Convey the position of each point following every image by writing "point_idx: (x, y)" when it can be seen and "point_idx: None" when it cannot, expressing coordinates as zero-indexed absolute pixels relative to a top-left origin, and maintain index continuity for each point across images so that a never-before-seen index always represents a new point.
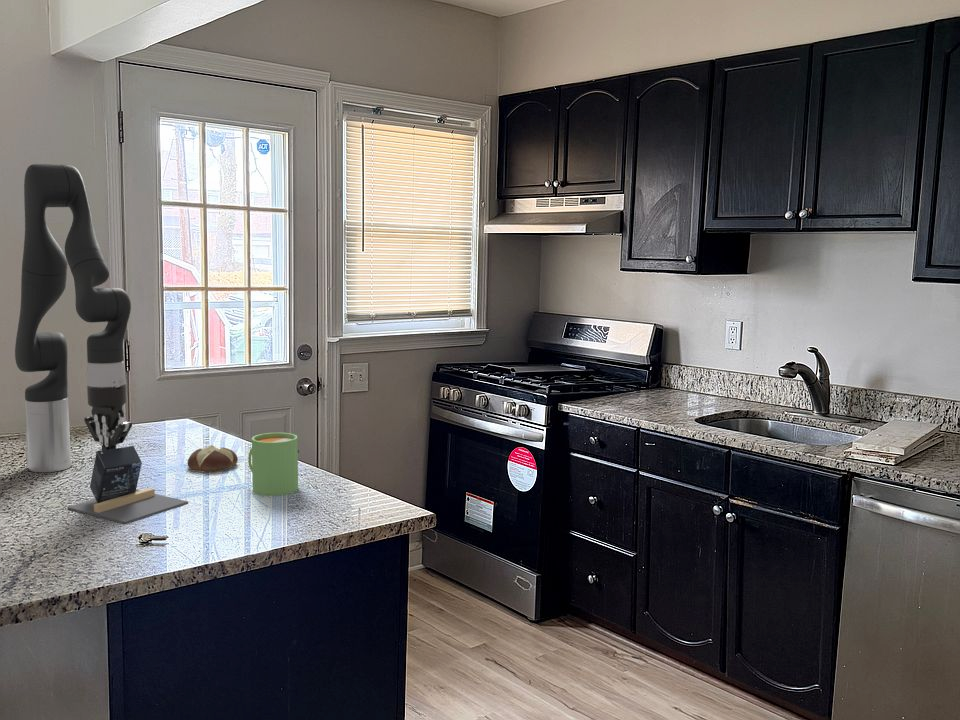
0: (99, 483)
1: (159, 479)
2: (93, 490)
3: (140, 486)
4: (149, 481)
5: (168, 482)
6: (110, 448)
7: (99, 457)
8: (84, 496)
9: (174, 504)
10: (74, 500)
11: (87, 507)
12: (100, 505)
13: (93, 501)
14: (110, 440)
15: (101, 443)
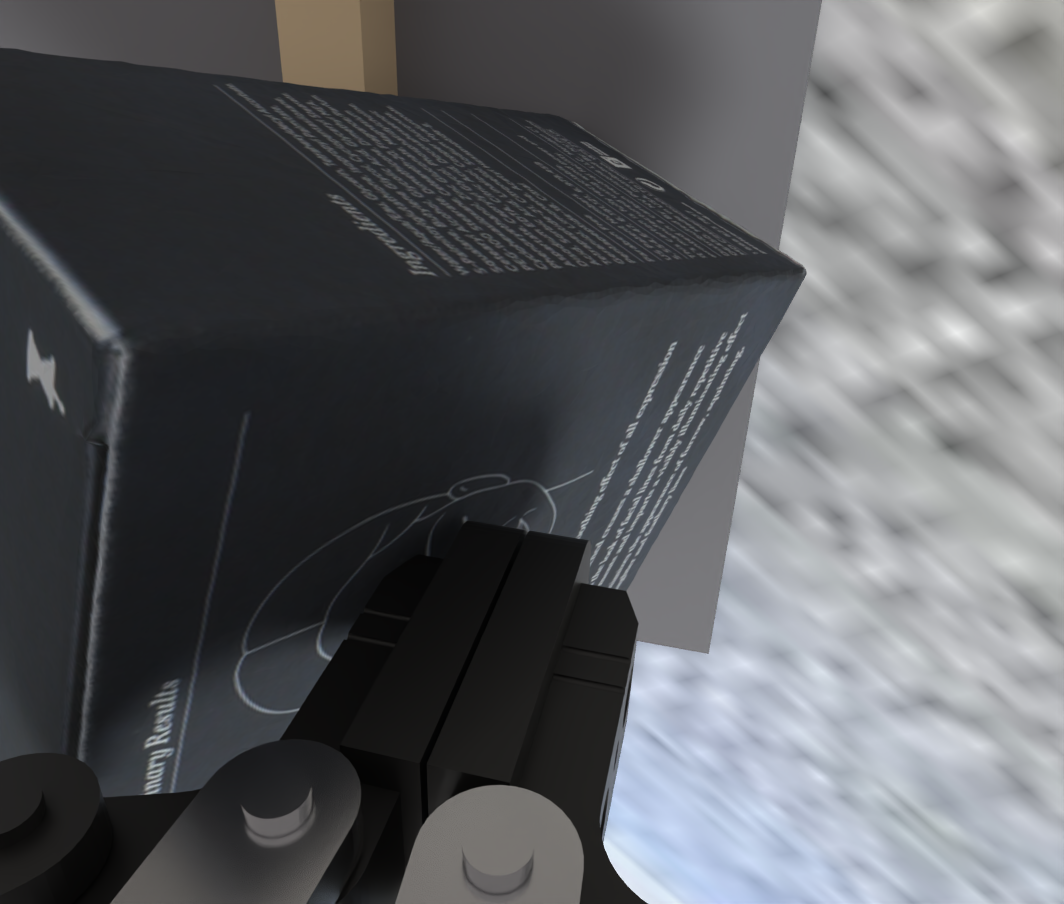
0: (363, 112)
1: (736, 901)
2: (671, 201)
3: (731, 741)
4: (770, 852)
5: (610, 858)
6: (282, 739)
7: (13, 204)
8: (1034, 334)
9: None
10: (1041, 163)
11: None
12: None
13: (716, 189)
14: (26, 878)
15: (470, 834)
